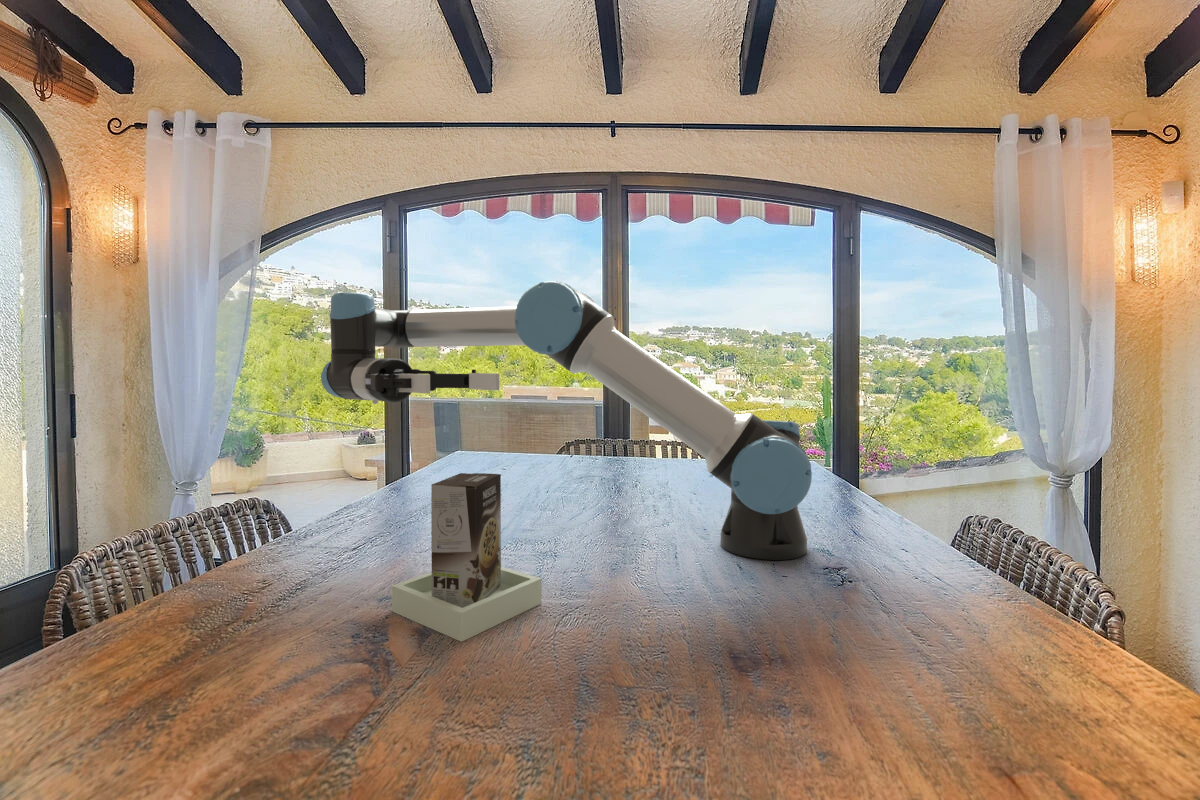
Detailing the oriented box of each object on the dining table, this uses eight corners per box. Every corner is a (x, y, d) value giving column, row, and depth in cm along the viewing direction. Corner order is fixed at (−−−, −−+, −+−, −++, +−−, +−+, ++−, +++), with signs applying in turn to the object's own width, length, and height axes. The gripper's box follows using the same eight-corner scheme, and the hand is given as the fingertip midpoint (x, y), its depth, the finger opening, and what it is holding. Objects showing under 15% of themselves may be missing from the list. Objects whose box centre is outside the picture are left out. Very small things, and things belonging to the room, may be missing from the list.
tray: (541, 603, 80) (541, 578, 80) (461, 641, 69) (461, 612, 69) (473, 580, 88) (473, 557, 88) (391, 611, 77) (391, 585, 77)
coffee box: (476, 612, 74) (475, 486, 73) (430, 607, 75) (428, 483, 74) (503, 585, 82) (502, 472, 81) (461, 581, 84) (460, 470, 83)
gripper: (442, 398, 112) (522, 403, 99) (314, 405, 92) (393, 412, 79) (442, 359, 111) (522, 359, 99) (313, 357, 91) (392, 357, 79)
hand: (465, 382), depth 89 cm, fingers open, 13 cm apart
